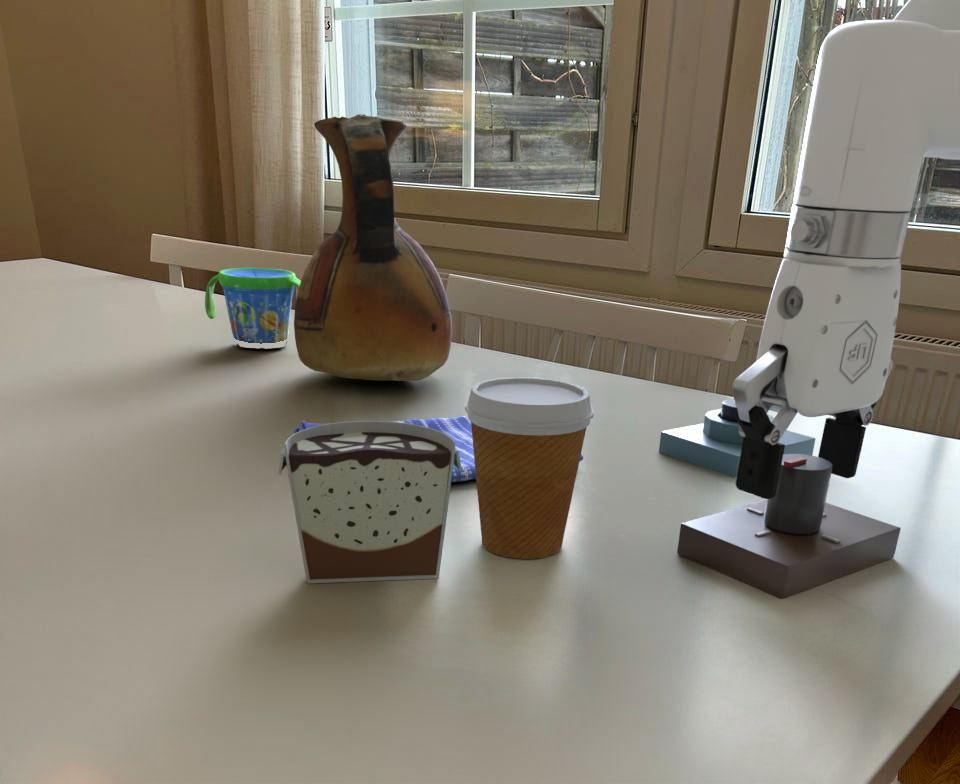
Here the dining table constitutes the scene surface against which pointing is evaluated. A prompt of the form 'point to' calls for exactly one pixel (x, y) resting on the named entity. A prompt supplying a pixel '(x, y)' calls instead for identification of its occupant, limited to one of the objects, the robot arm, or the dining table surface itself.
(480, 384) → the disposable coffee cup
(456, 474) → the dish towel
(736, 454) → the button box
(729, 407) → the button
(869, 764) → the dining table surface
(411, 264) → the ceramic pitcher
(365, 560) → the food container
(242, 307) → the snack cup
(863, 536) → the knob panel
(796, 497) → the knob
